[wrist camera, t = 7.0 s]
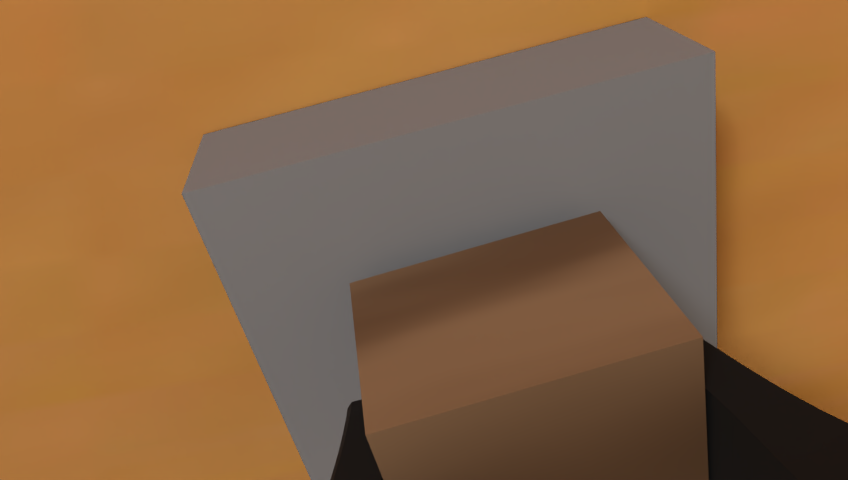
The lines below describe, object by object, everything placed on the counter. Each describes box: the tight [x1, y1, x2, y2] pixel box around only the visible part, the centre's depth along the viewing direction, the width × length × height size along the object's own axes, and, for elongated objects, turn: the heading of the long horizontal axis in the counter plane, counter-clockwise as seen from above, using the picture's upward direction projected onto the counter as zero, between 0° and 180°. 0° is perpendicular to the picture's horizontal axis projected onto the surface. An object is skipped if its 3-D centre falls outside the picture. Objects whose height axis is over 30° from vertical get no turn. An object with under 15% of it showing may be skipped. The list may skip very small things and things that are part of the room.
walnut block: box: [350, 211, 709, 480], centre depth 13 cm, size 5×5×4 cm
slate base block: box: [182, 17, 717, 480], centre depth 16 cm, size 10×10×3 cm
